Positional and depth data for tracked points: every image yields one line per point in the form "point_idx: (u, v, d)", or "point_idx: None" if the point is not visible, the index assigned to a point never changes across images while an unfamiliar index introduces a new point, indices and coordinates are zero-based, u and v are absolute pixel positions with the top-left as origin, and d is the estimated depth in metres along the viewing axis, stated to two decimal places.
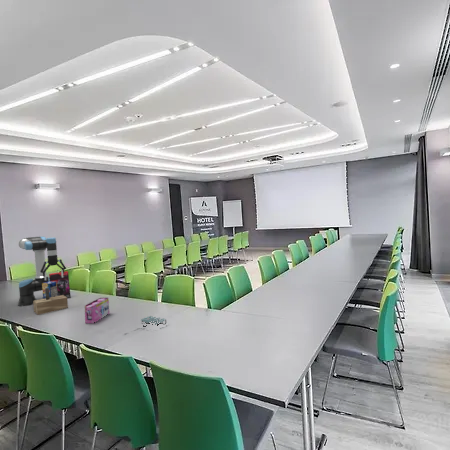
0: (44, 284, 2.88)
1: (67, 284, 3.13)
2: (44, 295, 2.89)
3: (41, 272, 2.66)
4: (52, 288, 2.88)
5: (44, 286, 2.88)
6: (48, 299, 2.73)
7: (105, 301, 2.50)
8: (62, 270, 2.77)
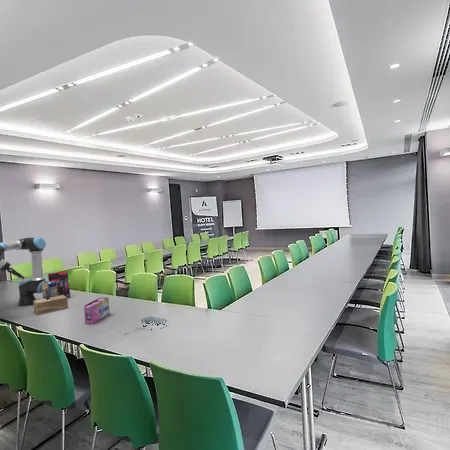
0: (44, 284, 2.88)
1: (66, 283, 3.15)
2: (44, 295, 2.89)
3: (14, 274, 2.71)
4: (52, 288, 2.88)
5: (44, 286, 2.88)
6: (48, 299, 2.73)
7: (105, 301, 2.50)
8: (19, 277, 2.60)
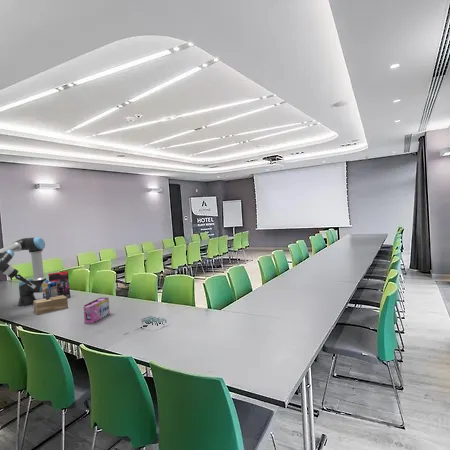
0: (44, 284, 2.88)
1: (67, 284, 3.14)
2: (44, 295, 2.89)
3: (22, 281, 2.69)
4: (52, 288, 2.88)
5: (44, 286, 2.88)
6: (48, 299, 2.73)
7: (105, 301, 2.50)
8: (27, 284, 2.58)
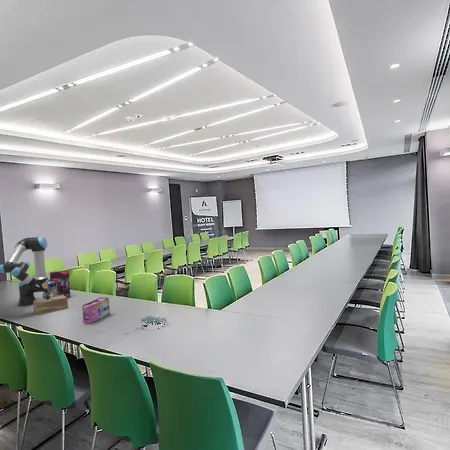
0: (44, 284, 2.88)
1: (67, 283, 3.16)
2: (44, 295, 2.89)
3: None
4: (52, 288, 2.88)
5: (44, 286, 2.88)
6: (48, 299, 2.73)
7: (105, 301, 2.50)
8: None
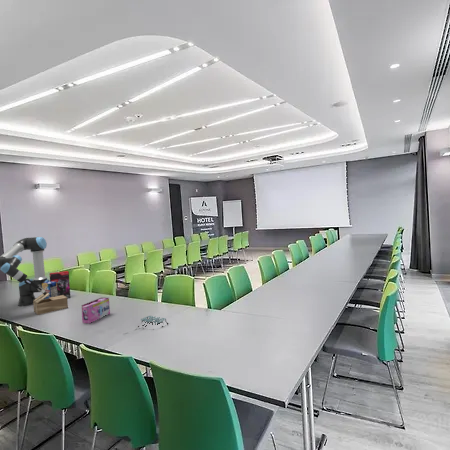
0: (44, 284, 2.88)
1: (67, 284, 3.14)
2: None
3: (34, 287, 2.71)
4: (52, 288, 2.88)
5: (44, 286, 2.88)
6: (46, 294, 2.72)
7: (105, 301, 2.49)
8: None
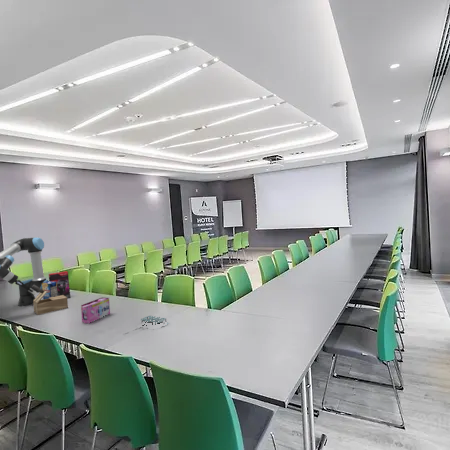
0: (44, 284, 2.88)
1: (67, 284, 3.14)
2: (44, 295, 2.89)
3: None
4: (52, 288, 2.88)
5: (44, 286, 2.88)
6: (43, 292, 2.71)
7: (104, 301, 2.49)
8: (28, 290, 2.63)
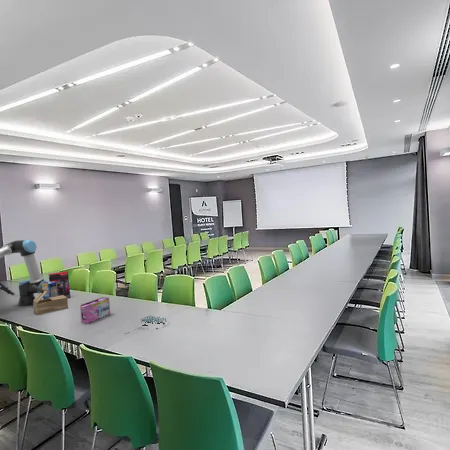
0: (44, 284, 2.88)
1: (67, 284, 3.14)
2: (44, 295, 2.89)
3: None
4: (52, 288, 2.88)
5: (44, 286, 2.88)
6: (43, 292, 2.71)
7: (104, 301, 2.49)
8: (8, 293, 2.49)
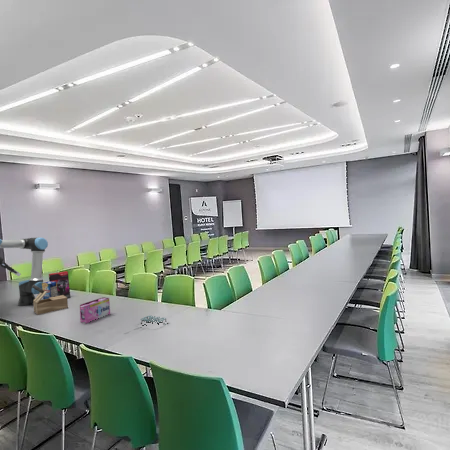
0: (44, 284, 2.88)
1: (67, 284, 3.14)
2: (44, 295, 2.89)
3: (8, 269, 2.76)
4: (52, 288, 2.88)
5: (44, 286, 2.88)
6: (43, 292, 2.71)
7: (104, 301, 2.49)
8: (12, 272, 2.65)
